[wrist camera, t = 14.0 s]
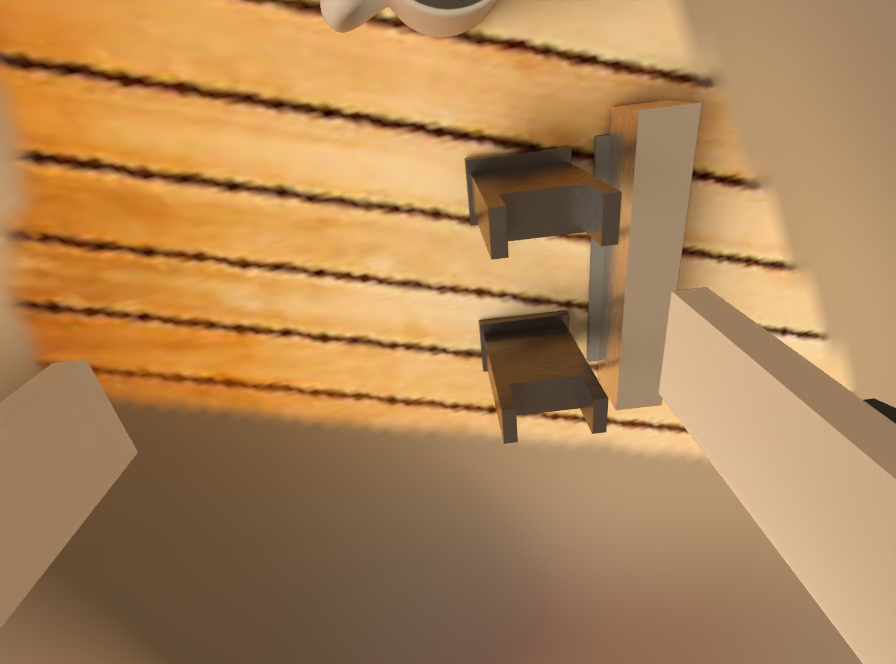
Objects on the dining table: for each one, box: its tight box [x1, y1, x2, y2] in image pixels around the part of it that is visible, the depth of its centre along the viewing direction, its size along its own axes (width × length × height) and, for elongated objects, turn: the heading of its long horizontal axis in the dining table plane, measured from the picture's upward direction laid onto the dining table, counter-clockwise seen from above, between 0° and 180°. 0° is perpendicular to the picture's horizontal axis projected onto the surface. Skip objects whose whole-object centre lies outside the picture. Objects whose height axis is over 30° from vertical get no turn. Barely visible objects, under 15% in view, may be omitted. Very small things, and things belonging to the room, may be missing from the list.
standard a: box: [465, 146, 622, 259], centre depth 32 cm, size 5×8×12 cm, turn 96°
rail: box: [598, 100, 702, 410], centre depth 38 cm, size 24×4×5 cm, turn 6°
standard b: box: [479, 311, 608, 444], centre depth 38 cm, size 5×8×12 cm, turn 96°
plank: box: [587, 134, 610, 362], centre depth 40 cm, size 20×6×1 cm, turn 6°
